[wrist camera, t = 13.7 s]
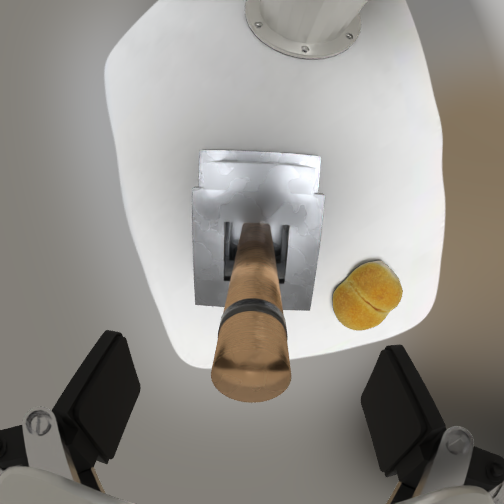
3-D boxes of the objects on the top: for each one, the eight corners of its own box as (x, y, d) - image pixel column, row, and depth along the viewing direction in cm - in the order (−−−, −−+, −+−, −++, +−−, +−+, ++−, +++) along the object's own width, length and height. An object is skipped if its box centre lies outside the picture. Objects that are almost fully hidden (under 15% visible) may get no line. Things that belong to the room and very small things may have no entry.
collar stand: (201, 150, 26) (177, 149, 18) (318, 156, 26) (342, 157, 18) (201, 275, 31) (184, 316, 23) (306, 281, 31) (319, 323, 23)
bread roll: (318, 301, 32) (324, 320, 29) (369, 247, 30) (382, 260, 26) (359, 332, 34) (368, 350, 30) (406, 284, 31) (420, 299, 28)
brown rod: (241, 214, 28) (207, 345, 9) (272, 216, 28) (298, 350, 9) (240, 243, 29) (211, 400, 10) (270, 245, 29) (286, 403, 10)
